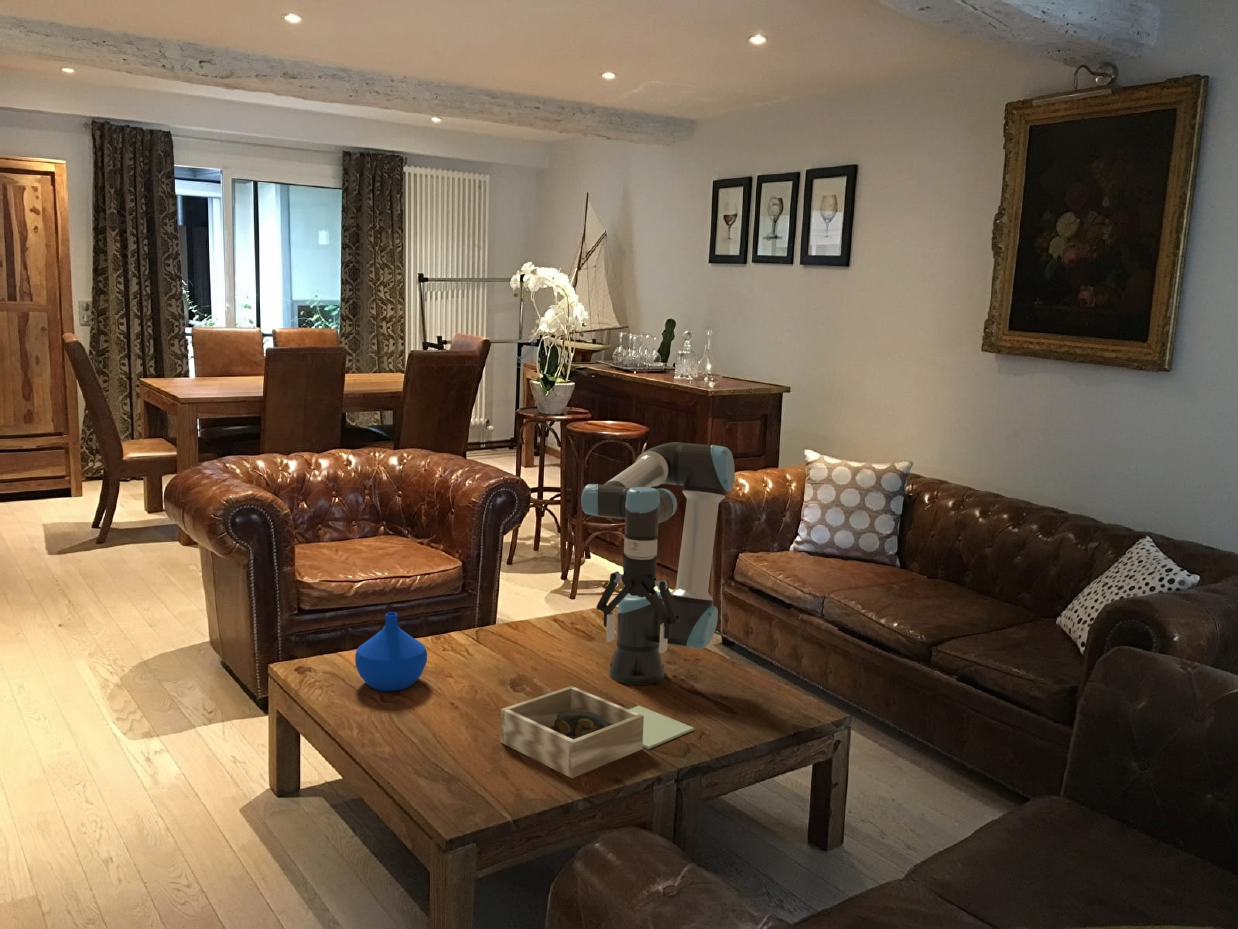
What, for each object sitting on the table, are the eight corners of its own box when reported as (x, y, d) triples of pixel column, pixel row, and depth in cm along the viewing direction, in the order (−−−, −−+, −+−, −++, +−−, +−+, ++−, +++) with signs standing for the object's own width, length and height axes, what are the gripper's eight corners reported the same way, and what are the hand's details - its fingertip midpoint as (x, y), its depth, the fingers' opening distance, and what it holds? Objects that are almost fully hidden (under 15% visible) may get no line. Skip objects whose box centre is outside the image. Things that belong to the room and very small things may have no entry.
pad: (593, 724, 245) (593, 722, 245) (638, 707, 257) (639, 705, 257) (648, 749, 233) (648, 746, 233) (693, 730, 244) (693, 727, 244)
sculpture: (614, 738, 238) (615, 709, 237) (610, 748, 231) (611, 719, 230) (558, 733, 239) (559, 705, 238) (553, 743, 233) (554, 714, 232)
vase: (340, 690, 261) (339, 618, 258) (382, 668, 278) (382, 600, 275) (401, 703, 254) (401, 629, 251) (440, 679, 271) (441, 610, 268)
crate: (500, 742, 234) (501, 709, 233) (570, 717, 249) (571, 686, 248) (572, 778, 217) (573, 743, 216) (642, 749, 233) (643, 715, 232)
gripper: (584, 551, 233) (580, 640, 236) (683, 567, 222) (679, 660, 225) (599, 545, 240) (596, 632, 243) (697, 560, 229) (692, 651, 232)
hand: (636, 646), depth 234 cm, fingers open, 13 cm apart
